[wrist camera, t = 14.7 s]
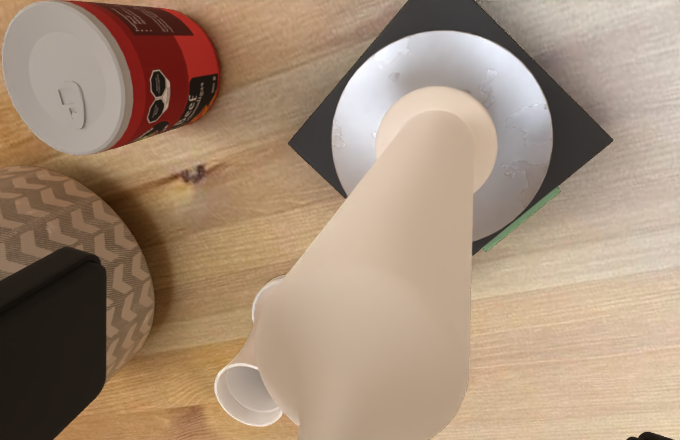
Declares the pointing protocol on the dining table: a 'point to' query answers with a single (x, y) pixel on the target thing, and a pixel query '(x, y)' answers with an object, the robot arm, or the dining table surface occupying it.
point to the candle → (386, 284)
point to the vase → (248, 376)
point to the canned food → (106, 73)
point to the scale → (474, 79)
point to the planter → (80, 233)
